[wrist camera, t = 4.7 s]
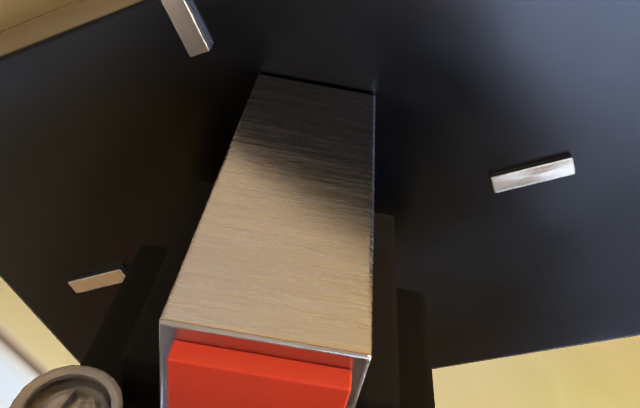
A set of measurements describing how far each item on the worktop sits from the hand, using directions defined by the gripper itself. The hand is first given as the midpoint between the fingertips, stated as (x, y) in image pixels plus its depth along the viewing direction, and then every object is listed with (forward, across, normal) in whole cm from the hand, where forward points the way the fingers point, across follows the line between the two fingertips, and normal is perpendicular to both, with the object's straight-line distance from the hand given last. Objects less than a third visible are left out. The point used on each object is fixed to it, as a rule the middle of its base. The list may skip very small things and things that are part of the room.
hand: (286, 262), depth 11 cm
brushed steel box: (+1, 0, 0) cm, 1 cm away
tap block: (+4, 0, 0) cm, 4 cm away
